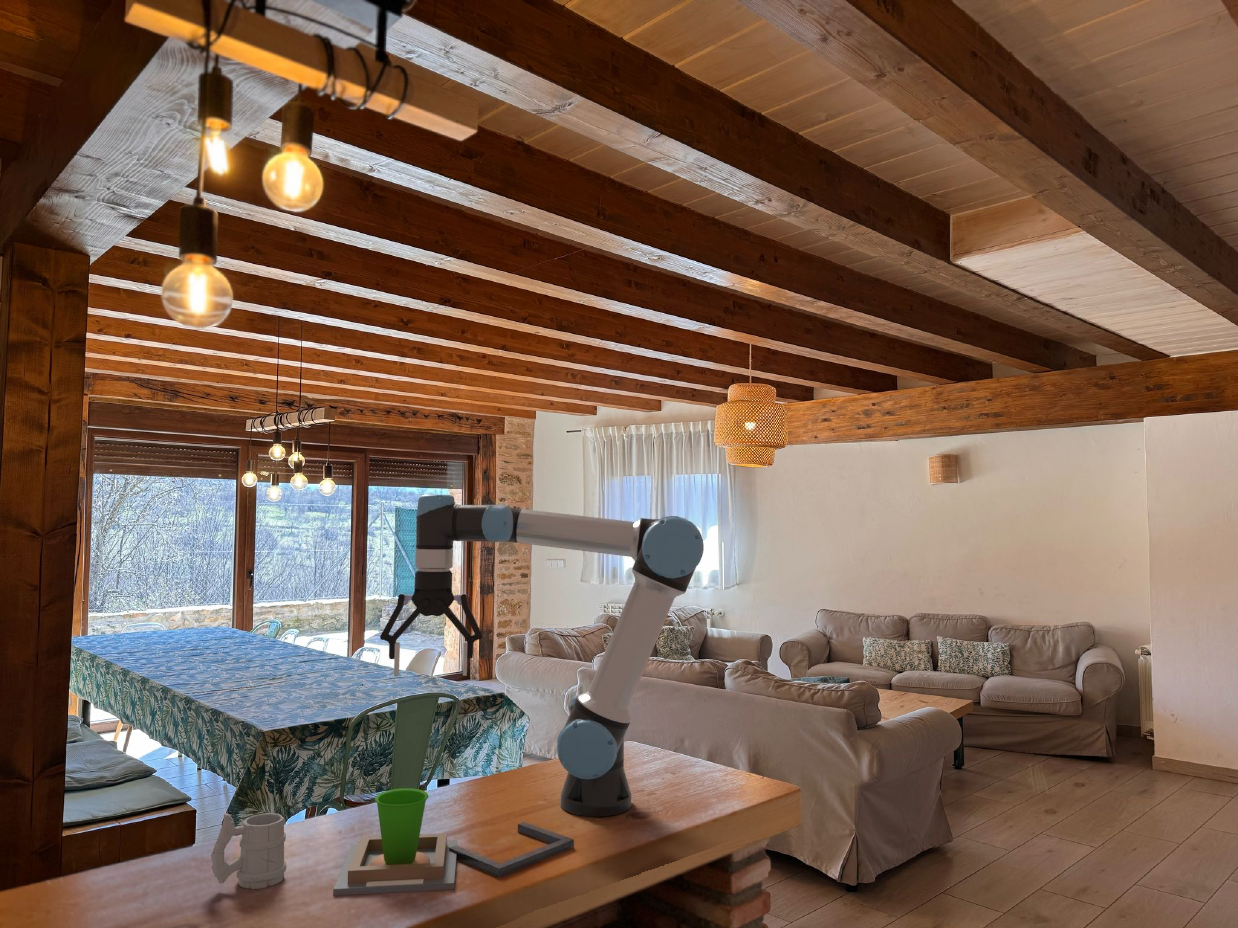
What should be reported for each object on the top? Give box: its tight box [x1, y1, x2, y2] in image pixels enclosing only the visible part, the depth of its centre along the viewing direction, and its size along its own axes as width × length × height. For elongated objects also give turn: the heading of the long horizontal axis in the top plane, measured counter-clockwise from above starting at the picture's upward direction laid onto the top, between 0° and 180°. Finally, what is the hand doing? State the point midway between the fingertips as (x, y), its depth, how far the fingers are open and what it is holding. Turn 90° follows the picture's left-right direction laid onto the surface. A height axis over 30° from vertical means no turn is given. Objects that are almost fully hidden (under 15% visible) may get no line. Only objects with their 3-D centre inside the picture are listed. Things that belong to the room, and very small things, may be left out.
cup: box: [374, 787, 429, 865], centre depth 148 cm, size 9×9×11 cm
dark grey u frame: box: [449, 821, 575, 878], centre depth 156 cm, size 14×18×2 cm
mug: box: [210, 812, 288, 890], centre depth 141 cm, size 8×12×12 cm, turn 131°
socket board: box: [332, 832, 458, 896], centre depth 147 cm, size 19×19×3 cm
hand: (430, 675), depth 173 cm, fingers open, 13 cm apart
